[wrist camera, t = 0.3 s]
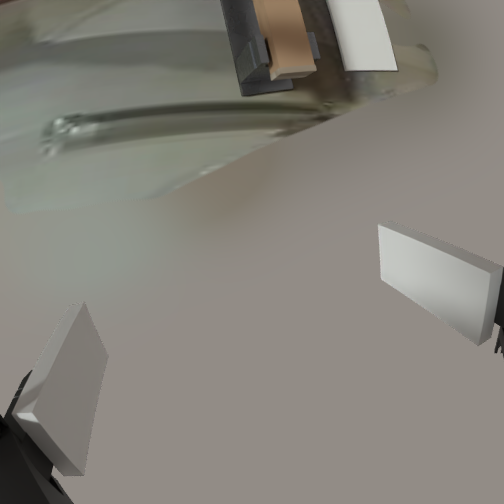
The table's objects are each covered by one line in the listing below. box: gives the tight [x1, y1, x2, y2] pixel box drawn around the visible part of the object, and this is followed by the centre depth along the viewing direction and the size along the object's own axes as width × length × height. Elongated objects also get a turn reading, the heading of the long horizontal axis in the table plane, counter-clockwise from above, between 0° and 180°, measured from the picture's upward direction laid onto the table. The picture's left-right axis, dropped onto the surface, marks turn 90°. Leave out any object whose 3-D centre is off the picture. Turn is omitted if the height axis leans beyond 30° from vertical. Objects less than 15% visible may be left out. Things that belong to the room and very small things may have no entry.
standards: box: [220, 0, 321, 96], centre depth 28 cm, size 22×6×10 cm, turn 12°
